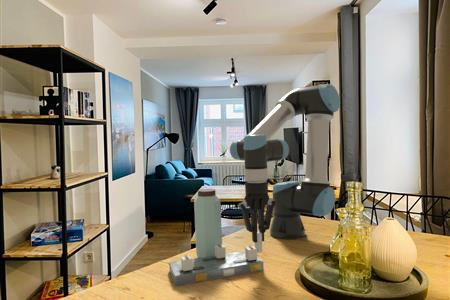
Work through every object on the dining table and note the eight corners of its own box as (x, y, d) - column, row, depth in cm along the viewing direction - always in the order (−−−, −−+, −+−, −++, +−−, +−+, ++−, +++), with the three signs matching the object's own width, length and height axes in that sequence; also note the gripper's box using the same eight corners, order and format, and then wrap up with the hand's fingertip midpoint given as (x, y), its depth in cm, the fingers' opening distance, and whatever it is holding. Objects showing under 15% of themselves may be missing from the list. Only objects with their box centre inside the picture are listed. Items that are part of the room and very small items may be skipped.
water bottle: (219, 262, 119) (216, 192, 118) (192, 261, 121) (189, 192, 120) (225, 252, 128) (222, 187, 127) (200, 252, 130) (197, 187, 129)
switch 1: (190, 266, 108) (190, 254, 107) (192, 269, 105) (192, 257, 105) (181, 267, 107) (181, 255, 106) (183, 271, 104) (182, 258, 104)
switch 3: (253, 256, 114) (253, 244, 114) (257, 259, 111) (256, 247, 111) (245, 257, 113) (245, 246, 113) (248, 260, 110) (248, 248, 110)
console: (250, 258, 122) (249, 249, 122) (263, 270, 110) (263, 261, 110) (169, 271, 113) (169, 261, 113) (175, 286, 101) (175, 275, 101)
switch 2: (223, 254, 117) (222, 243, 117) (225, 257, 114) (225, 245, 114) (214, 255, 116) (214, 244, 116) (217, 258, 113) (216, 247, 113)
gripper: (269, 178, 117) (271, 245, 118) (234, 181, 113) (236, 250, 114) (279, 181, 110) (281, 252, 111) (242, 184, 106) (244, 257, 107)
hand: (258, 251), depth 113 cm, fingers closed
